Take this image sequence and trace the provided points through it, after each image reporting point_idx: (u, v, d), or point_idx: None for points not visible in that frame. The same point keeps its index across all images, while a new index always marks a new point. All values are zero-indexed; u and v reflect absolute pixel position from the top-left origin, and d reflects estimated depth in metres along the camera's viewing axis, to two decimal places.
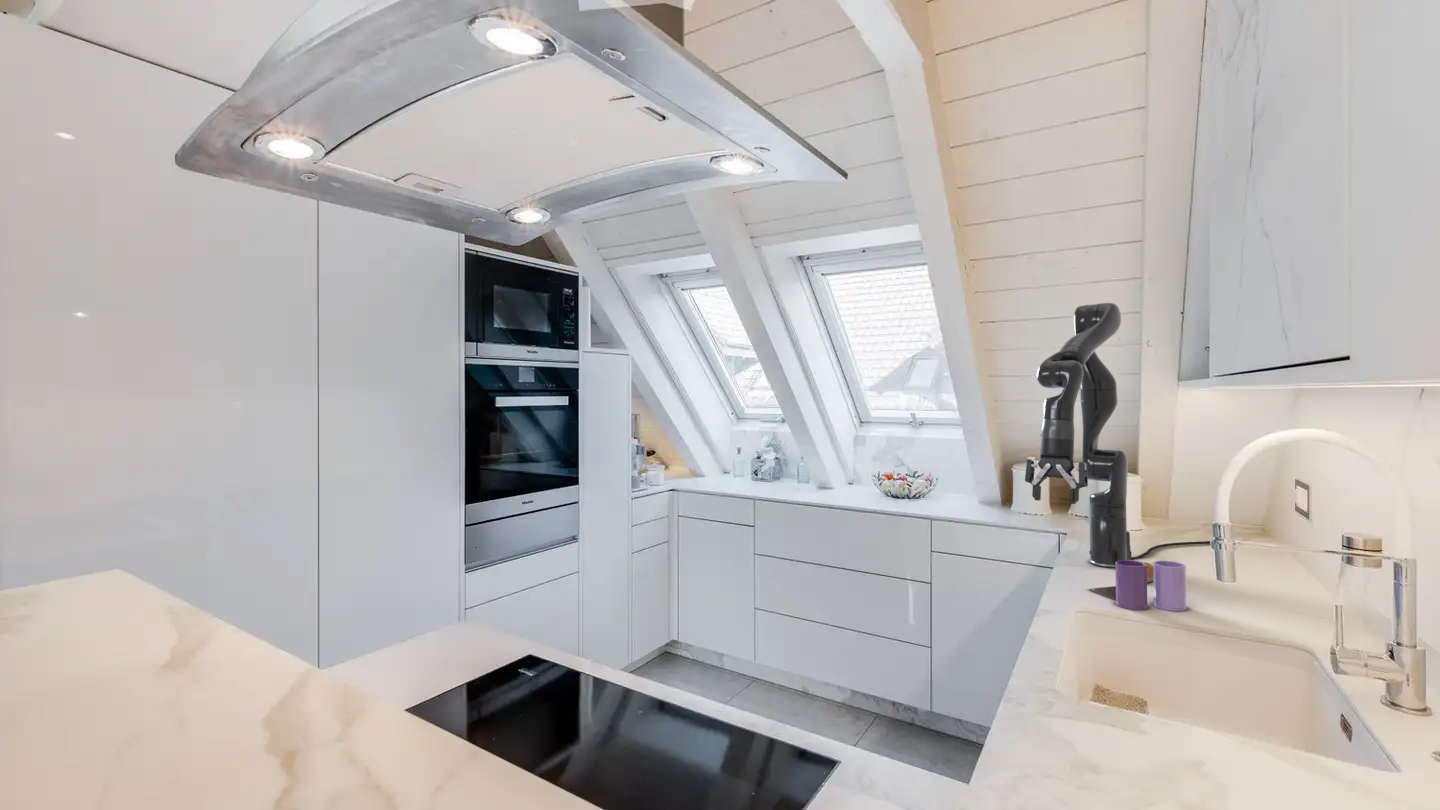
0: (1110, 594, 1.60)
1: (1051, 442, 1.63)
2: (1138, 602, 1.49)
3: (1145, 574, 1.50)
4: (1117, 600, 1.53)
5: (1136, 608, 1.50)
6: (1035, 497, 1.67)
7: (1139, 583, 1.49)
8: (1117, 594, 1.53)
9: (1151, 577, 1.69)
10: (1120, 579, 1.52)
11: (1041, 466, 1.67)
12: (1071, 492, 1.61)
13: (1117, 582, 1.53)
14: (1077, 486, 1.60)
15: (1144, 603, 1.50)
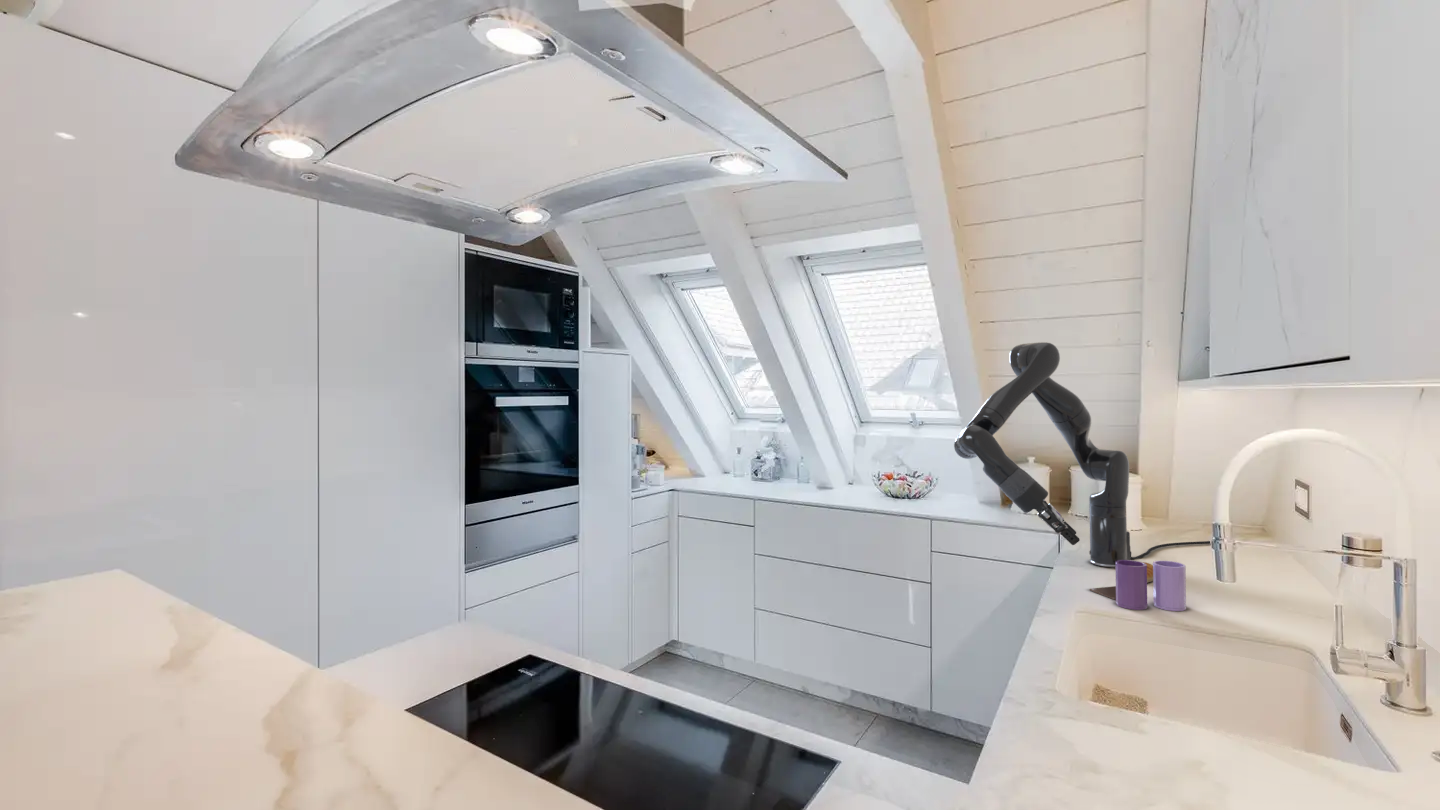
0: (1110, 594, 1.60)
1: None
2: (1138, 602, 1.49)
3: (1145, 574, 1.50)
4: (1117, 600, 1.53)
5: (1136, 608, 1.50)
6: None
7: (1139, 583, 1.49)
8: (1117, 594, 1.53)
9: (1151, 577, 1.69)
10: (1120, 579, 1.52)
11: None
12: (1063, 536, 1.54)
13: (1117, 582, 1.53)
14: None
15: (1144, 603, 1.50)
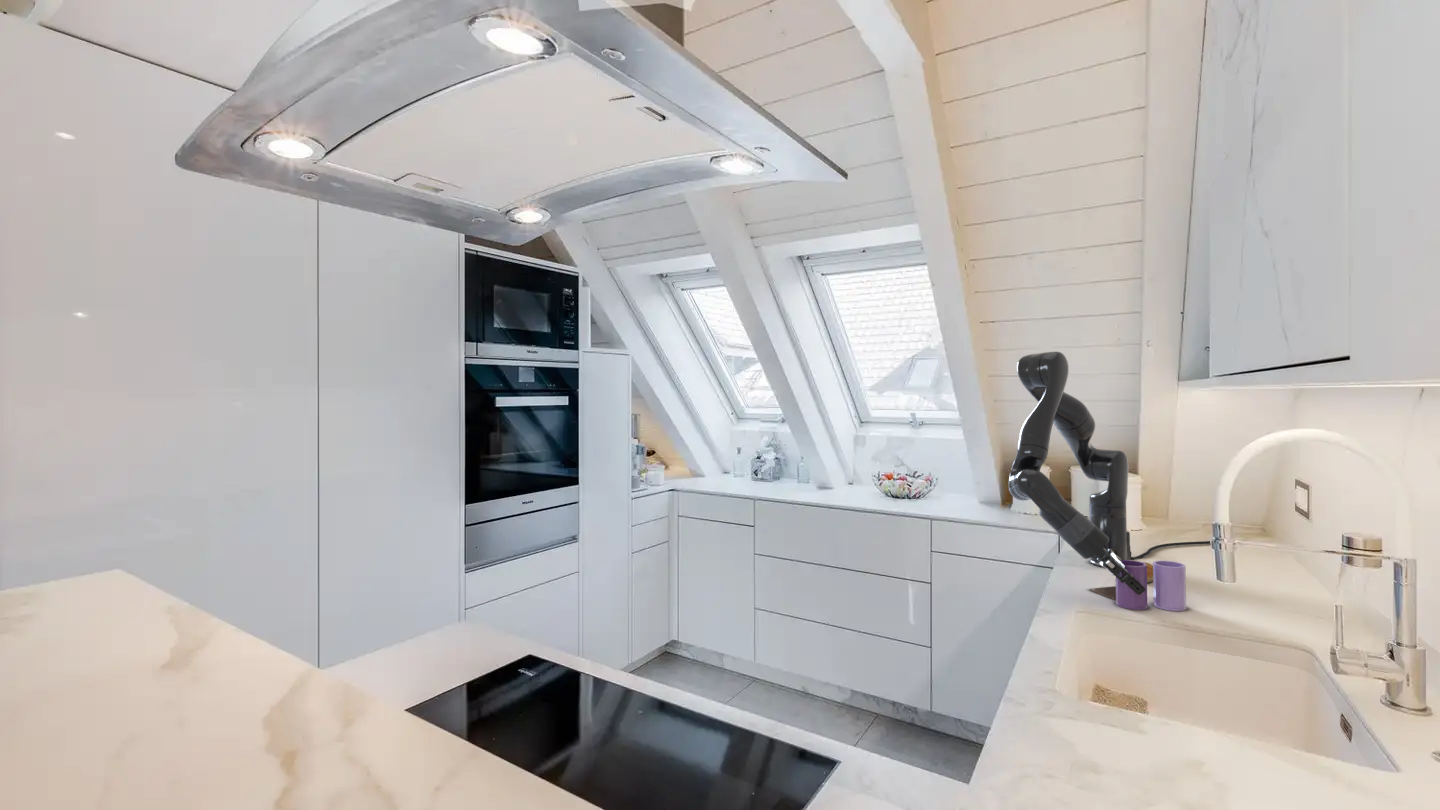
0: (1110, 594, 1.60)
1: None
2: (1138, 602, 1.49)
3: (1145, 574, 1.50)
4: (1117, 600, 1.53)
5: (1136, 608, 1.50)
6: None
7: None
8: (1117, 594, 1.53)
9: (1151, 577, 1.69)
10: None
11: None
12: (1128, 585, 1.50)
13: (1117, 582, 1.53)
14: None
15: (1144, 603, 1.50)
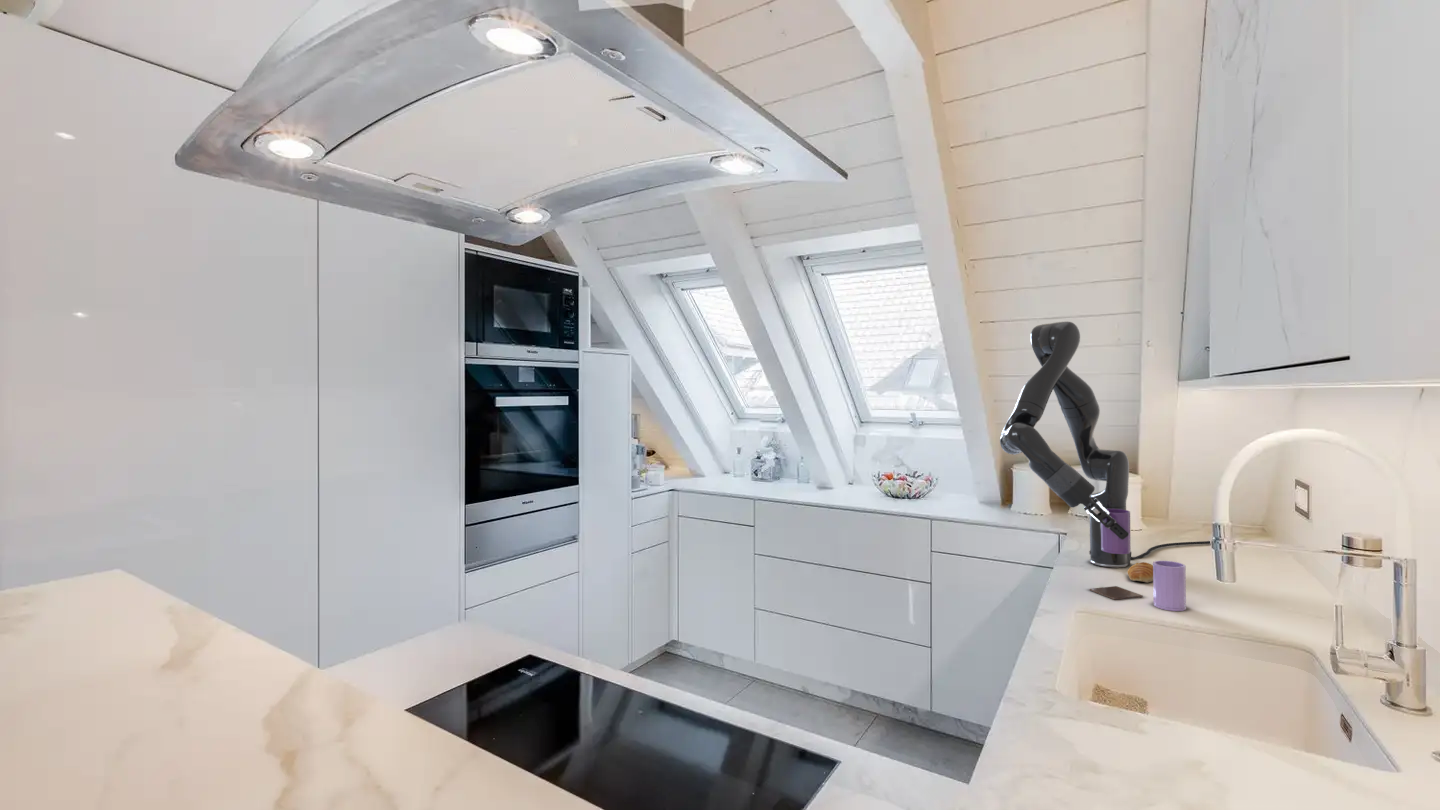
0: (1110, 594, 1.60)
1: None
2: (1122, 547, 1.58)
3: (1128, 520, 1.58)
4: (1102, 546, 1.61)
5: (1120, 552, 1.58)
6: None
7: (1123, 528, 1.58)
8: (1102, 540, 1.61)
9: (1151, 577, 1.69)
10: (1104, 526, 1.60)
11: None
12: None
13: (1102, 529, 1.61)
14: None
15: (1127, 548, 1.58)
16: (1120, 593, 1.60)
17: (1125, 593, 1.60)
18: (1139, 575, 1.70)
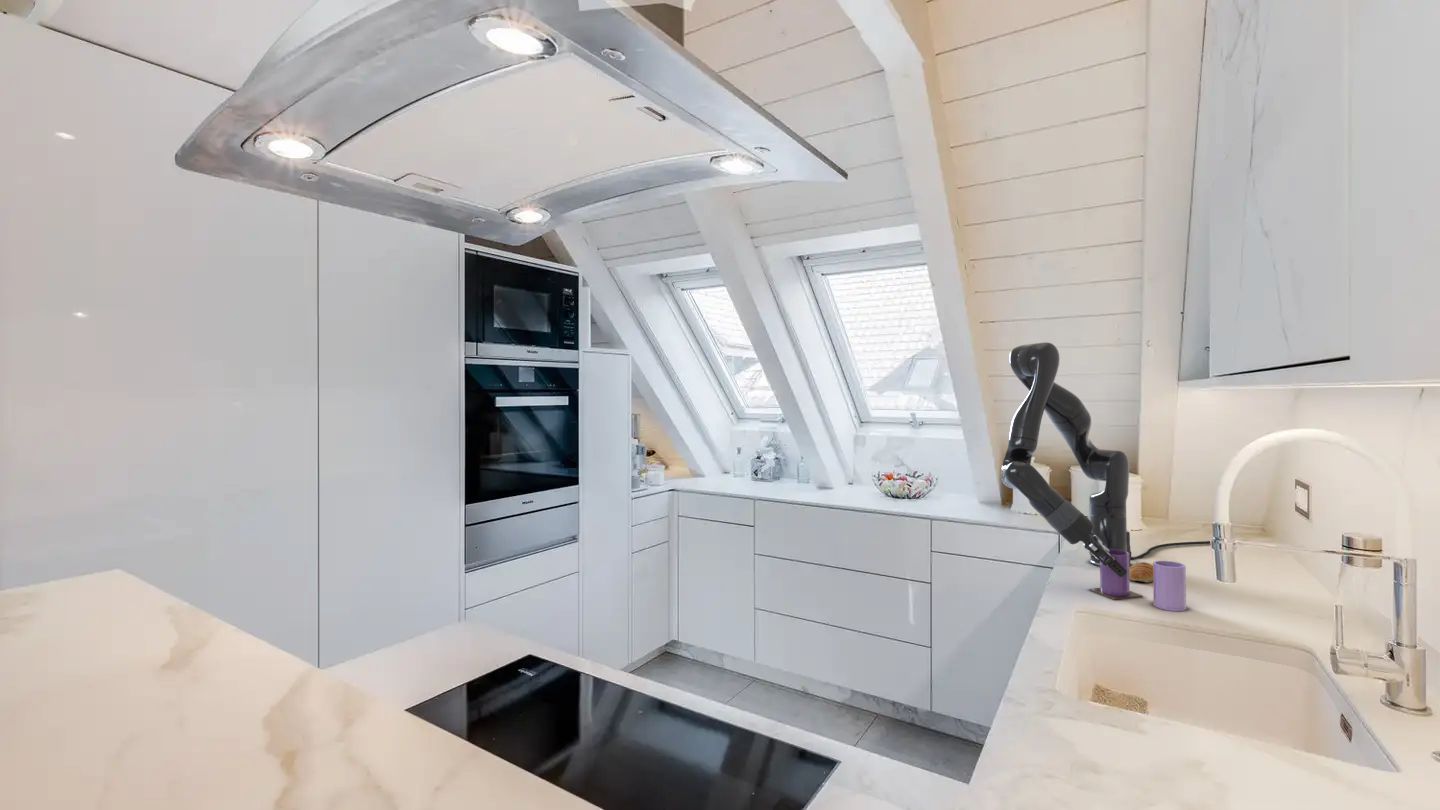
0: None
1: None
2: (1121, 588, 1.58)
3: (1127, 562, 1.59)
4: (1101, 587, 1.62)
5: (1119, 594, 1.58)
6: None
7: None
8: (1101, 581, 1.62)
9: (1151, 577, 1.69)
10: (1103, 567, 1.61)
11: None
12: None
13: (1101, 570, 1.62)
14: None
15: (1126, 589, 1.59)
16: None
17: None
18: (1139, 575, 1.70)
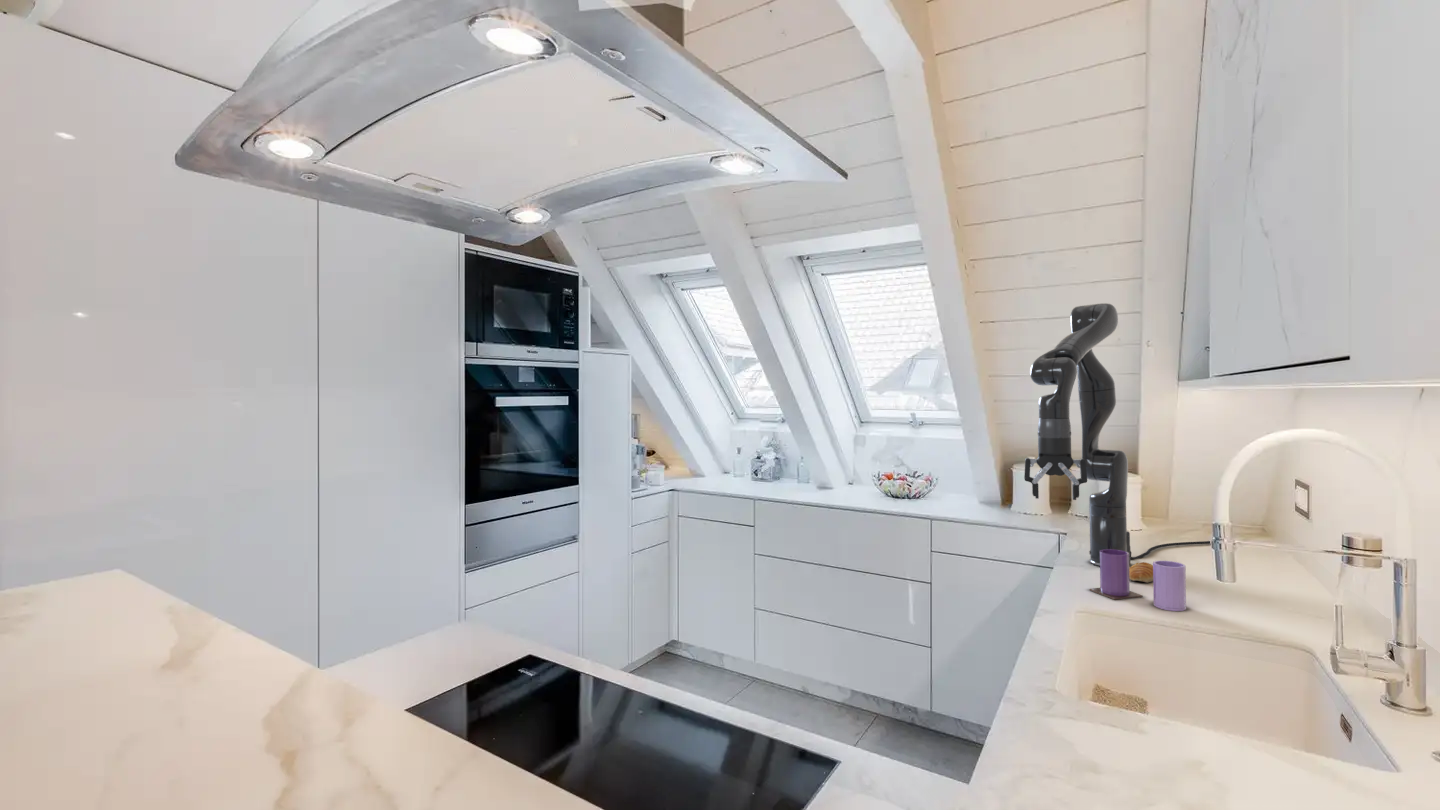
0: None
1: (1054, 442, 1.63)
2: (1121, 588, 1.58)
3: (1127, 562, 1.59)
4: (1101, 587, 1.62)
5: (1119, 594, 1.58)
6: (1036, 496, 1.67)
7: (1122, 570, 1.58)
8: (1101, 581, 1.62)
9: (1151, 577, 1.69)
10: (1103, 567, 1.61)
11: (1041, 465, 1.67)
12: (1074, 489, 1.64)
13: (1101, 570, 1.62)
14: (1079, 482, 1.64)
15: (1126, 589, 1.59)
16: None
17: None
18: (1139, 575, 1.70)
